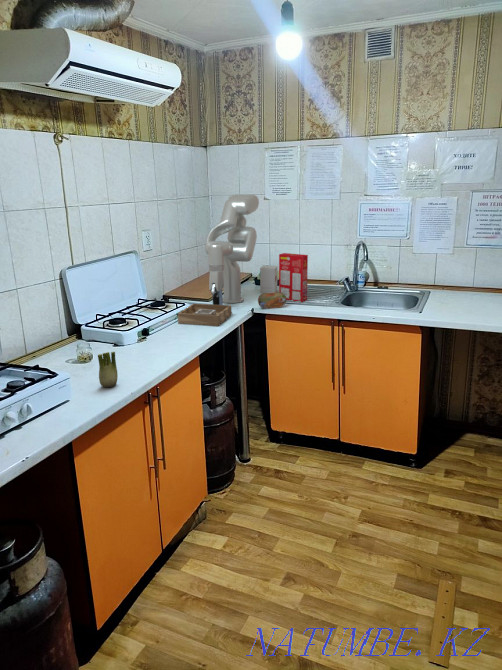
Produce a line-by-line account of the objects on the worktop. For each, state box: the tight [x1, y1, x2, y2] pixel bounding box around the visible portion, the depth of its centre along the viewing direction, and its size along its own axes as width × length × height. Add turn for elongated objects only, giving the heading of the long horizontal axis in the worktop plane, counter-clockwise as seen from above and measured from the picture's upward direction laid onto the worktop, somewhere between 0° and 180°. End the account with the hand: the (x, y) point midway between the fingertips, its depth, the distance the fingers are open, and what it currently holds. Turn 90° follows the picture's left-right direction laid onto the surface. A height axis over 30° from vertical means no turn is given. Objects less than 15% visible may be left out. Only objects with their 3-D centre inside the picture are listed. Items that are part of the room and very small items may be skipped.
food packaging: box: [278, 252, 309, 303], centre depth 283 cm, size 15×5×25 cm, turn 56°
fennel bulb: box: [97, 351, 118, 388], centre depth 172 cm, size 6×5×12 cm
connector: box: [211, 289, 224, 305], centre depth 266 cm, size 4×4×12 cm
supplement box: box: [259, 264, 278, 294], centre depth 305 cm, size 9×9×15 cm
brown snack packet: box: [257, 291, 287, 310], centre depth 270 cm, size 15×3×8 cm, turn 105°
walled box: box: [177, 303, 232, 327], centre depth 251 cm, size 20×20×5 cm
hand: (217, 303), depth 267 cm, fingers closed on connector, 4 cm apart
